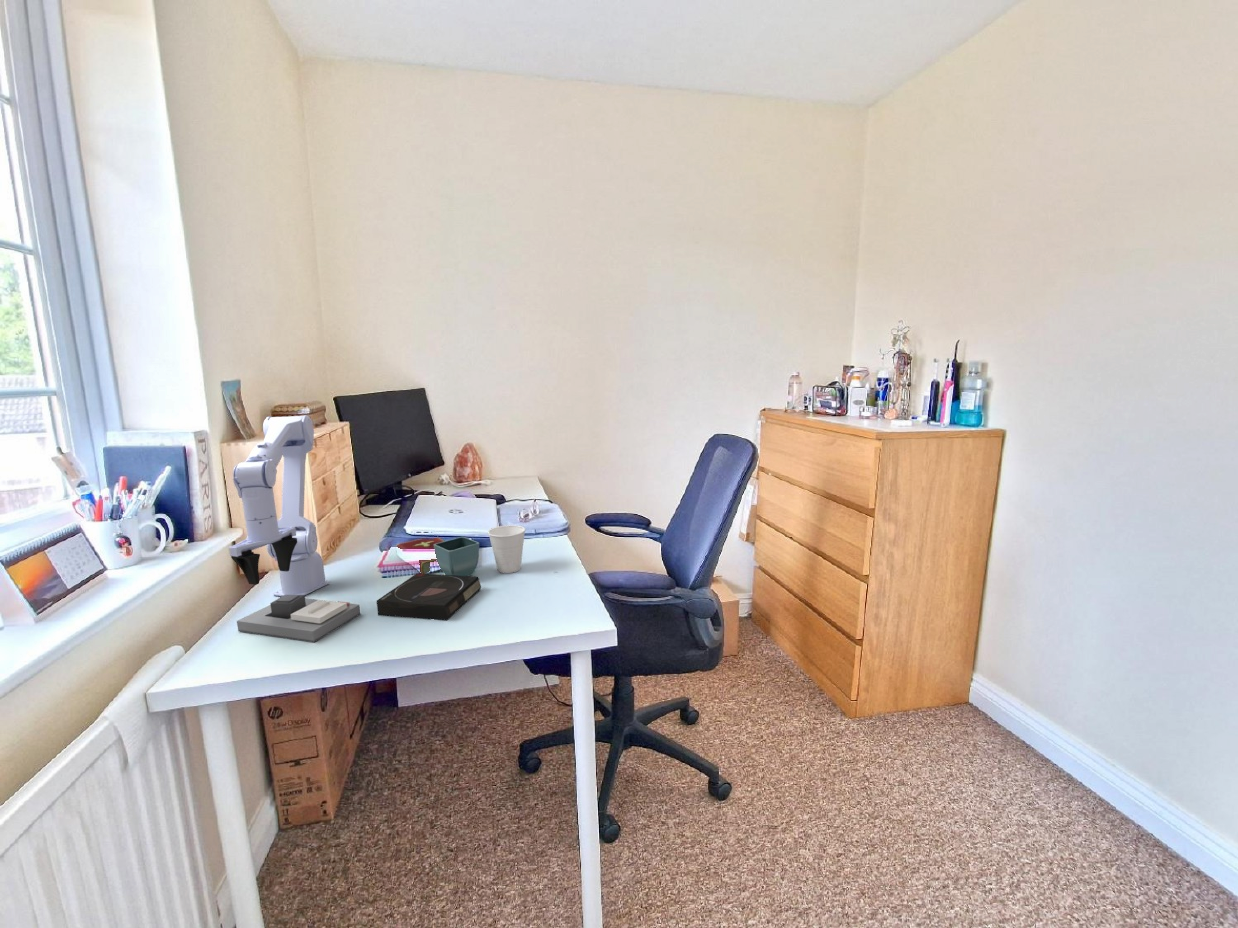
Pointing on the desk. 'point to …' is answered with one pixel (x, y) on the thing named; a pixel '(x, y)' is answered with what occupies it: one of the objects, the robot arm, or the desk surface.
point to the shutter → (318, 611)
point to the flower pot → (457, 556)
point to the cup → (507, 547)
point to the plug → (287, 605)
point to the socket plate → (295, 624)
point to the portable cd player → (429, 596)
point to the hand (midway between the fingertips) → (269, 577)
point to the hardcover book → (421, 545)
